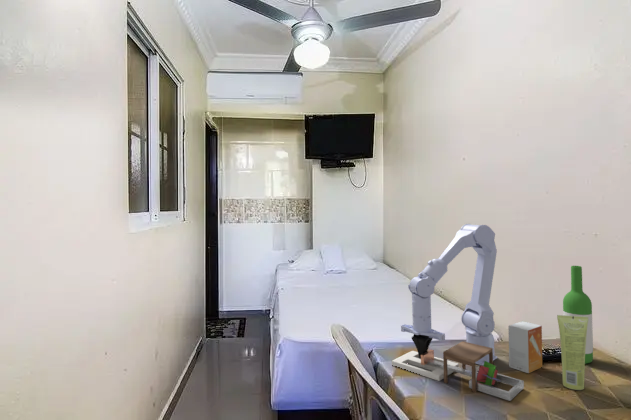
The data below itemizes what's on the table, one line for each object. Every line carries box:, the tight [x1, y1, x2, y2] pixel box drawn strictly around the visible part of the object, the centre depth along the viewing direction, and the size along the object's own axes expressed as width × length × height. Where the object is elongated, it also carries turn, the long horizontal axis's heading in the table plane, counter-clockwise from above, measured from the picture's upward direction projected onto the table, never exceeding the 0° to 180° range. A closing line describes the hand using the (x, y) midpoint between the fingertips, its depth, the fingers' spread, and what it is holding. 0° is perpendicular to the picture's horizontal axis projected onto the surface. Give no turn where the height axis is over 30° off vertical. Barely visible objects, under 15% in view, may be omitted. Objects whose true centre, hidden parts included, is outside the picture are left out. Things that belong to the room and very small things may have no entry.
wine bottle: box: [562, 265, 594, 365], centre depth 126 cm, size 8×8×30 cm
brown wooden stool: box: [442, 340, 494, 394], centre depth 114 cm, size 12×9×9 cm
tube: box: [556, 314, 588, 391], centre depth 108 cm, size 6×5×20 cm
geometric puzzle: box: [476, 361, 502, 388], centre depth 109 cm, size 7×7×8 cm
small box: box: [507, 320, 543, 374], centre depth 122 cm, size 8×6×13 cm
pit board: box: [391, 350, 460, 382], centre depth 124 cm, size 12×16×2 cm
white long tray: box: [421, 349, 525, 402], centre depth 114 cm, size 10×27×4 cm, turn 44°
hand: (422, 358), depth 125 cm, fingers closed
